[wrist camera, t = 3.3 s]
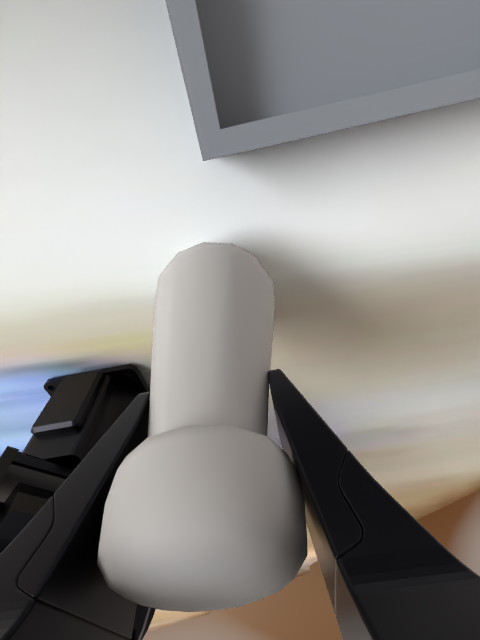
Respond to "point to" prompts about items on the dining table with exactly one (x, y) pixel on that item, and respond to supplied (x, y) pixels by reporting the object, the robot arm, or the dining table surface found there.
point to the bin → (319, 65)
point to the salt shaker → (206, 450)
